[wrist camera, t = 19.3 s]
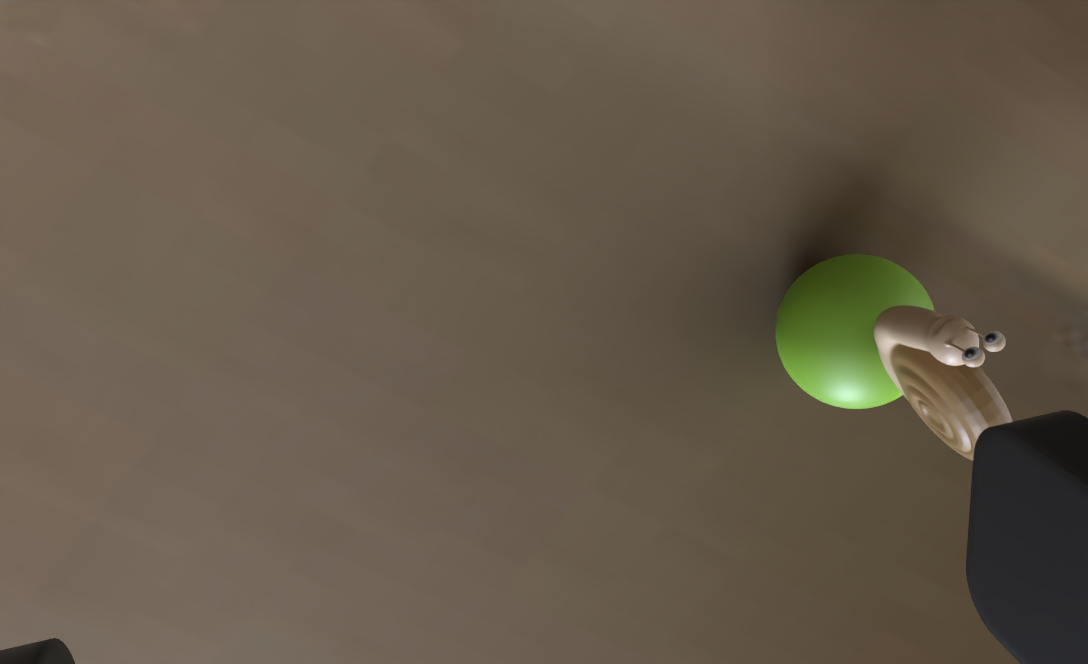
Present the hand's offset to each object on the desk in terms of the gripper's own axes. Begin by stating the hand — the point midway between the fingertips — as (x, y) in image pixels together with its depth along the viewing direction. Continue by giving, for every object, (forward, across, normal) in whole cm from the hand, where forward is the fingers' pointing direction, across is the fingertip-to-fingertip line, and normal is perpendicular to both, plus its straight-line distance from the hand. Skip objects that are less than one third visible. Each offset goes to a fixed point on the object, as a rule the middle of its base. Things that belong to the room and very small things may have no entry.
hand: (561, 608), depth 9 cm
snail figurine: (+25, -15, +9) cm, 31 cm away
